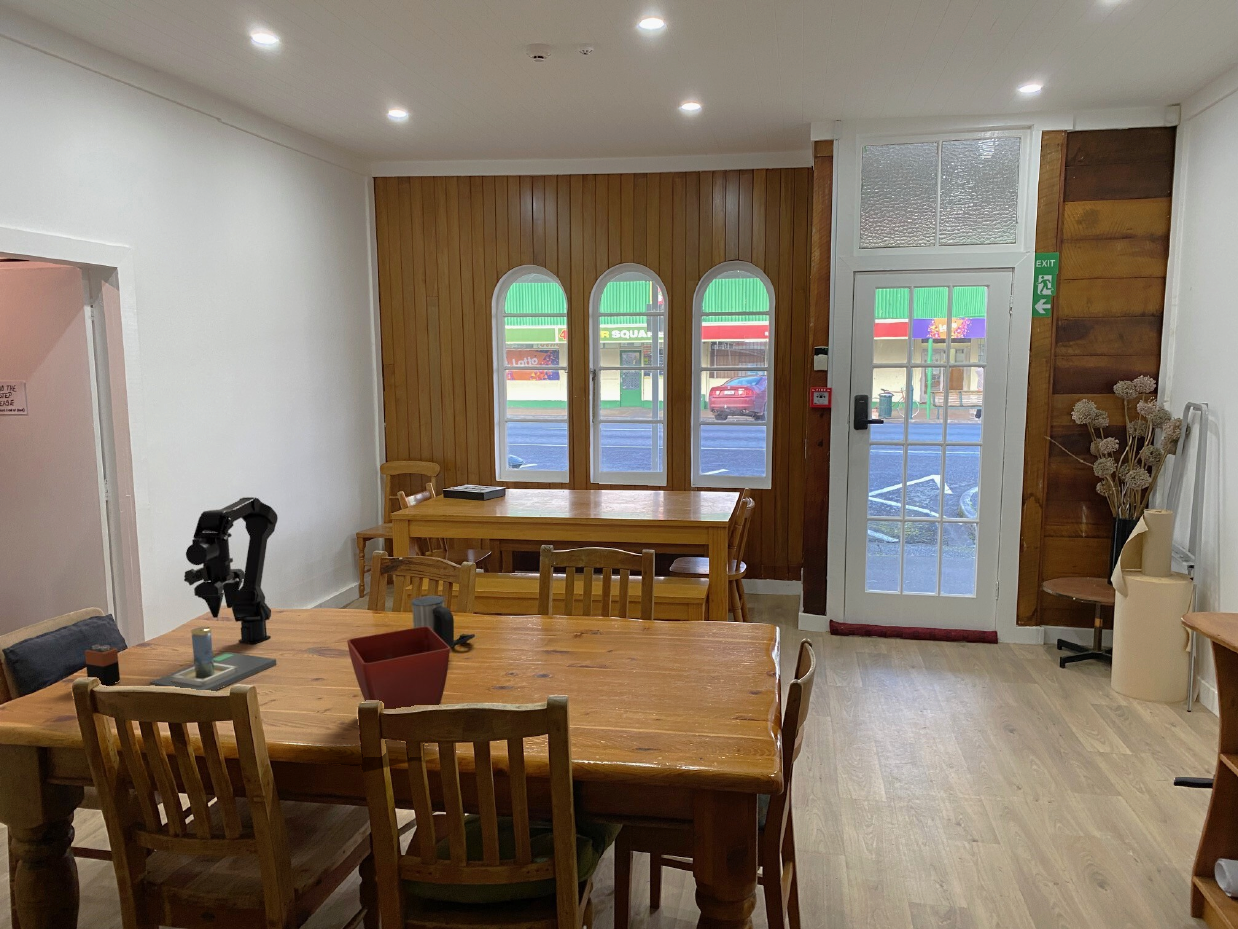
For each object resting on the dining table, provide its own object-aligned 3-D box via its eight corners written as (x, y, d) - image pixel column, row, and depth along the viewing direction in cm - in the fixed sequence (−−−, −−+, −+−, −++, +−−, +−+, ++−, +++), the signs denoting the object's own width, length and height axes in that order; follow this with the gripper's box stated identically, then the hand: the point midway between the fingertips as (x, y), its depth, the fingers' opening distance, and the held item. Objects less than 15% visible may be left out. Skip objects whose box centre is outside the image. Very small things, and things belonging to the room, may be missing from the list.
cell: (216, 671, 225) (212, 626, 223) (212, 677, 220) (208, 631, 219) (198, 673, 224) (193, 627, 222) (193, 679, 219) (189, 633, 218)
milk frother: (406, 655, 239) (403, 602, 237) (439, 637, 253) (436, 588, 251) (450, 661, 233) (448, 607, 232) (481, 642, 248) (479, 592, 246)
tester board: (226, 657, 241) (225, 647, 240) (276, 664, 234) (275, 654, 233) (149, 687, 219) (149, 677, 219) (202, 697, 212) (201, 686, 211)
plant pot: (367, 739, 186) (362, 663, 184) (350, 709, 202) (346, 638, 200) (454, 720, 194) (451, 647, 192) (431, 692, 211) (428, 625, 209)
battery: (105, 688, 219) (101, 650, 218) (87, 685, 222) (83, 647, 221) (121, 682, 223) (117, 644, 222) (103, 679, 226) (99, 642, 225)
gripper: (203, 550, 245) (207, 604, 247) (171, 565, 227) (176, 623, 228) (243, 549, 245) (247, 603, 247) (215, 564, 227) (219, 622, 229)
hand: (222, 612), depth 238 cm, fingers open, 9 cm apart
